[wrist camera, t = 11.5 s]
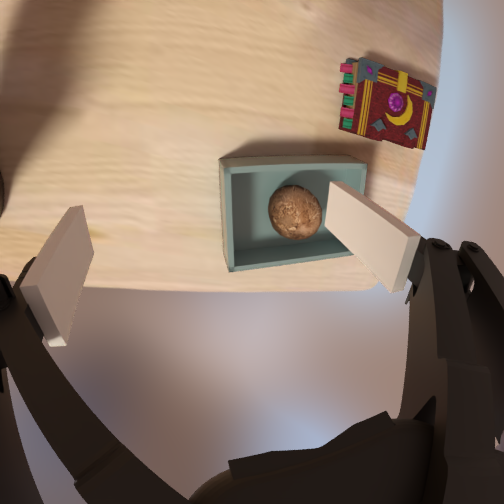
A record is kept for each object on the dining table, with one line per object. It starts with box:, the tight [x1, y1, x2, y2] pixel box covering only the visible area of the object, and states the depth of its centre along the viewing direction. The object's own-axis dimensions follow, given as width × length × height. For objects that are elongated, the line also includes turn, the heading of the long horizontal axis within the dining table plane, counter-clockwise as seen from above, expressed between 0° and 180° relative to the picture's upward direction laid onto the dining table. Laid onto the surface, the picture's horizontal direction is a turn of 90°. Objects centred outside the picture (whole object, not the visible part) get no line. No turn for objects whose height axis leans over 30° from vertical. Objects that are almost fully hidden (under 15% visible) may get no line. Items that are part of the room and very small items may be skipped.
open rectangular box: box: [219, 155, 367, 272], centre depth 41 cm, size 20×15×5 cm
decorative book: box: [339, 57, 437, 150], centre depth 36 cm, size 11×16×5 cm
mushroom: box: [268, 185, 322, 240], centre depth 41 cm, size 8×8×6 cm
